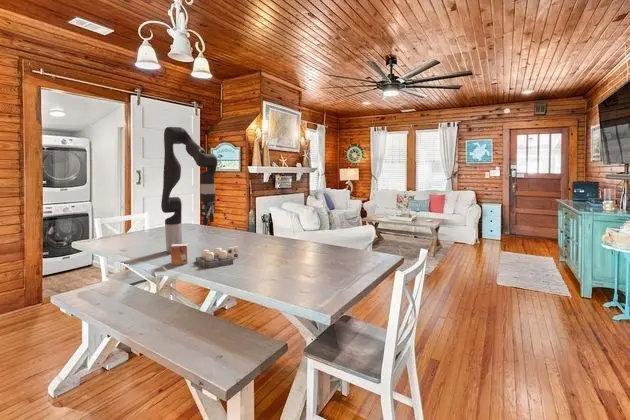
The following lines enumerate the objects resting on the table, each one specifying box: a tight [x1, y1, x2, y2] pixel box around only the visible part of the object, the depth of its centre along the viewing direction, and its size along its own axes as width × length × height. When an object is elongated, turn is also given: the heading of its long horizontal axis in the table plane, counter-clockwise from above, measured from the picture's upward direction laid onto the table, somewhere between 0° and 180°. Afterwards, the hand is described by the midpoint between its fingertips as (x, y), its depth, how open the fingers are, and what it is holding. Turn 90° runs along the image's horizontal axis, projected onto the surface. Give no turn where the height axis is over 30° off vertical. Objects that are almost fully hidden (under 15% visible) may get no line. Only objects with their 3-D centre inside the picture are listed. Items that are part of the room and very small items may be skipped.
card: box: [225, 246, 240, 260], centre depth 192 cm, size 3×7×7 cm, turn 127°
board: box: [195, 254, 234, 269], centre depth 182 cm, size 15×15×3 cm
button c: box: [201, 249, 210, 259], centre depth 183 cm, size 4×4×4 cm
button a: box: [206, 251, 215, 262], centre depth 177 cm, size 4×4×4 cm
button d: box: [213, 247, 223, 257], centre depth 187 cm, size 4×4×4 cm
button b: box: [219, 249, 227, 260], centre depth 181 cm, size 4×4×4 cm
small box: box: [170, 243, 189, 266], centre depth 181 cm, size 8×6×10 cm
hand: (208, 223), depth 178 cm, fingers open, 8 cm apart
